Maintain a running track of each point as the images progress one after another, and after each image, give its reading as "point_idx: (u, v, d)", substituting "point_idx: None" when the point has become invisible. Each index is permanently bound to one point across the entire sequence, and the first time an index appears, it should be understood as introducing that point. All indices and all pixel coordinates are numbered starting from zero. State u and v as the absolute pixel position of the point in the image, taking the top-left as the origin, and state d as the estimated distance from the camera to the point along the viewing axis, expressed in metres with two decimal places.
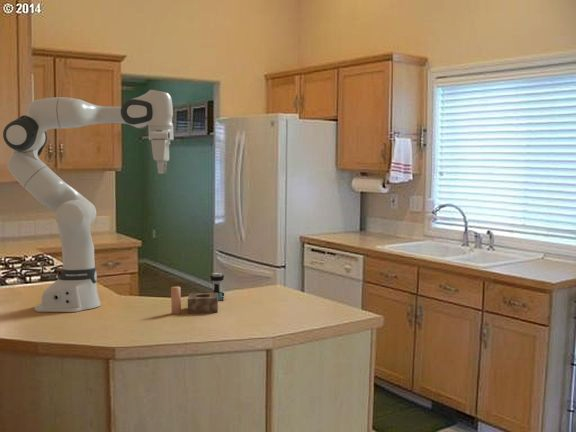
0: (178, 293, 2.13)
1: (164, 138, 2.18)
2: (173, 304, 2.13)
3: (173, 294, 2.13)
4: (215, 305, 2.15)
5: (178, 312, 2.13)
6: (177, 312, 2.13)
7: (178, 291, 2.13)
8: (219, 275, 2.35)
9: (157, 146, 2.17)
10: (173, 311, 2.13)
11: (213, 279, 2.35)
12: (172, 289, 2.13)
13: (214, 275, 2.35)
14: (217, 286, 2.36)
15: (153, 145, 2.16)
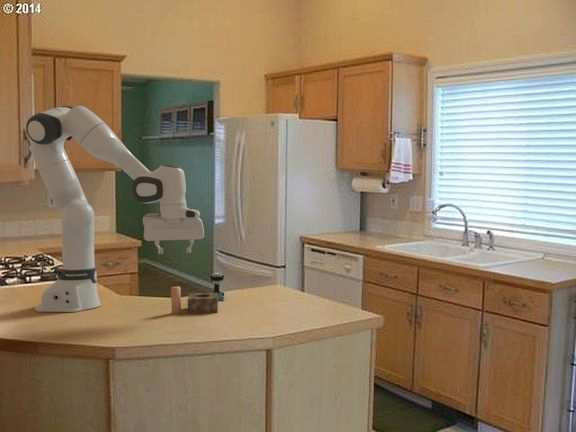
0: (178, 293, 2.13)
1: (198, 216, 2.15)
2: (173, 304, 2.13)
3: (173, 294, 2.13)
4: (215, 305, 2.15)
5: (178, 312, 2.13)
6: (177, 312, 2.13)
7: (178, 291, 2.13)
8: (219, 275, 2.35)
9: (202, 224, 2.13)
10: (173, 311, 2.13)
11: (213, 279, 2.35)
12: (172, 289, 2.13)
13: (214, 275, 2.35)
14: (217, 286, 2.36)
15: (202, 224, 2.12)
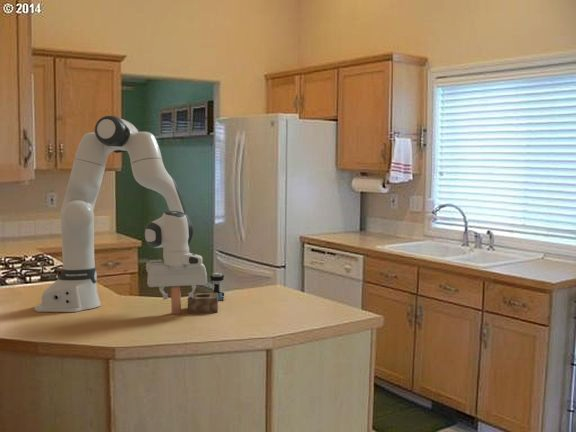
0: (178, 293, 2.13)
1: None
2: (173, 304, 2.13)
3: (173, 294, 2.13)
4: (215, 305, 2.15)
5: (178, 312, 2.13)
6: (177, 312, 2.13)
7: (178, 291, 2.13)
8: (219, 275, 2.35)
9: (205, 270, 2.15)
10: (173, 311, 2.13)
11: (213, 279, 2.35)
12: (172, 289, 2.13)
13: (214, 275, 2.35)
14: (217, 286, 2.36)
15: (205, 269, 2.13)
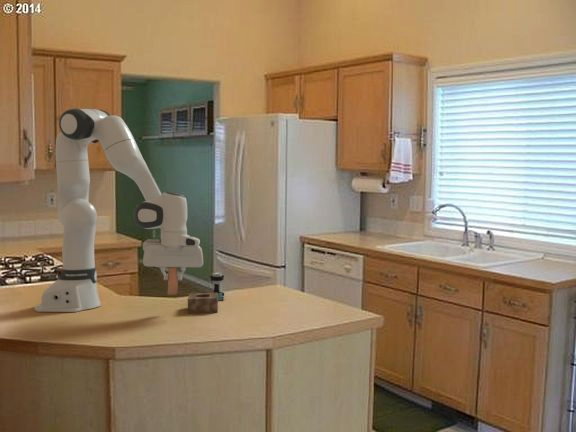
0: (175, 273, 2.12)
1: (198, 244, 2.16)
2: (170, 284, 2.12)
3: (170, 274, 2.12)
4: (215, 305, 2.15)
5: (174, 292, 2.13)
6: (173, 292, 2.13)
7: (175, 271, 2.13)
8: (219, 275, 2.35)
9: (202, 253, 2.14)
10: (169, 291, 2.13)
11: (213, 279, 2.35)
12: (169, 269, 2.12)
13: (214, 275, 2.35)
14: (217, 286, 2.36)
15: (201, 252, 2.12)
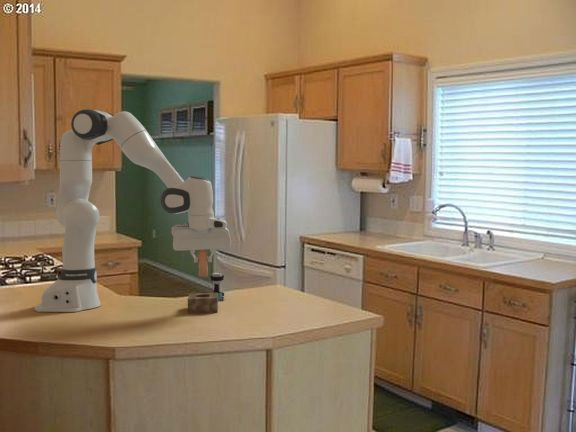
0: (205, 256, 2.17)
1: (225, 226, 2.20)
2: (200, 267, 2.17)
3: (200, 257, 2.17)
4: (215, 305, 2.15)
5: (205, 275, 2.18)
6: (204, 275, 2.17)
7: (205, 254, 2.17)
8: (219, 275, 2.35)
9: (229, 234, 2.18)
10: (200, 274, 2.17)
11: (213, 279, 2.35)
12: (199, 252, 2.17)
13: (214, 275, 2.35)
14: (217, 286, 2.36)
15: (229, 234, 2.17)
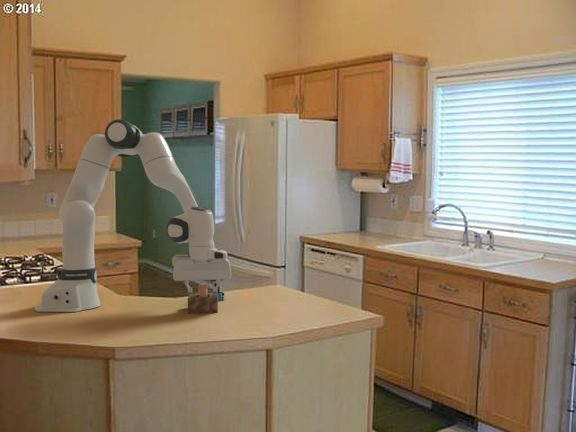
0: (205, 290, 2.18)
1: None
2: None
3: (200, 291, 2.18)
4: (215, 305, 2.15)
5: None
6: None
7: (205, 288, 2.18)
8: None
9: None
10: None
11: None
12: (199, 286, 2.18)
13: None
14: None
15: (229, 265, 2.18)
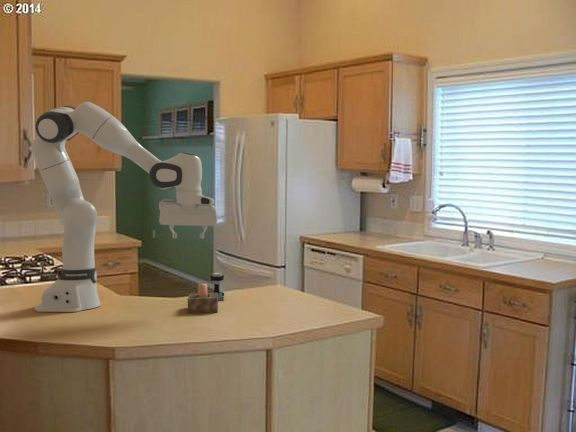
0: (205, 290, 2.18)
1: None
2: None
3: (200, 291, 2.18)
4: (215, 305, 2.15)
5: None
6: None
7: (205, 288, 2.18)
8: (219, 275, 2.35)
9: (216, 212, 2.21)
10: None
11: (213, 279, 2.35)
12: (199, 286, 2.18)
13: (214, 275, 2.35)
14: (217, 286, 2.36)
15: None
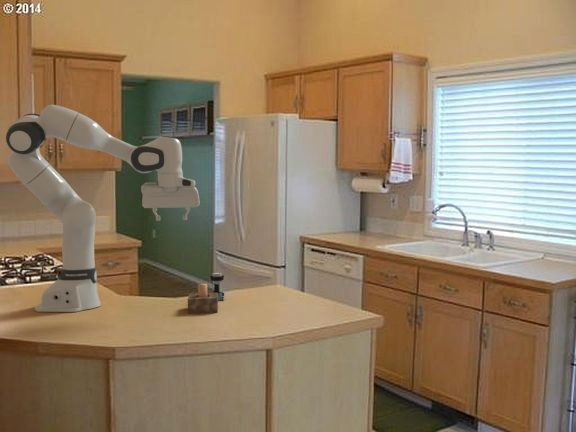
0: (205, 290, 2.18)
1: None
2: None
3: (200, 291, 2.18)
4: (215, 305, 2.15)
5: None
6: None
7: (205, 288, 2.18)
8: (219, 275, 2.35)
9: None
10: None
11: (213, 279, 2.35)
12: (199, 286, 2.18)
13: (214, 275, 2.35)
14: (217, 286, 2.36)
15: (197, 192, 2.23)
